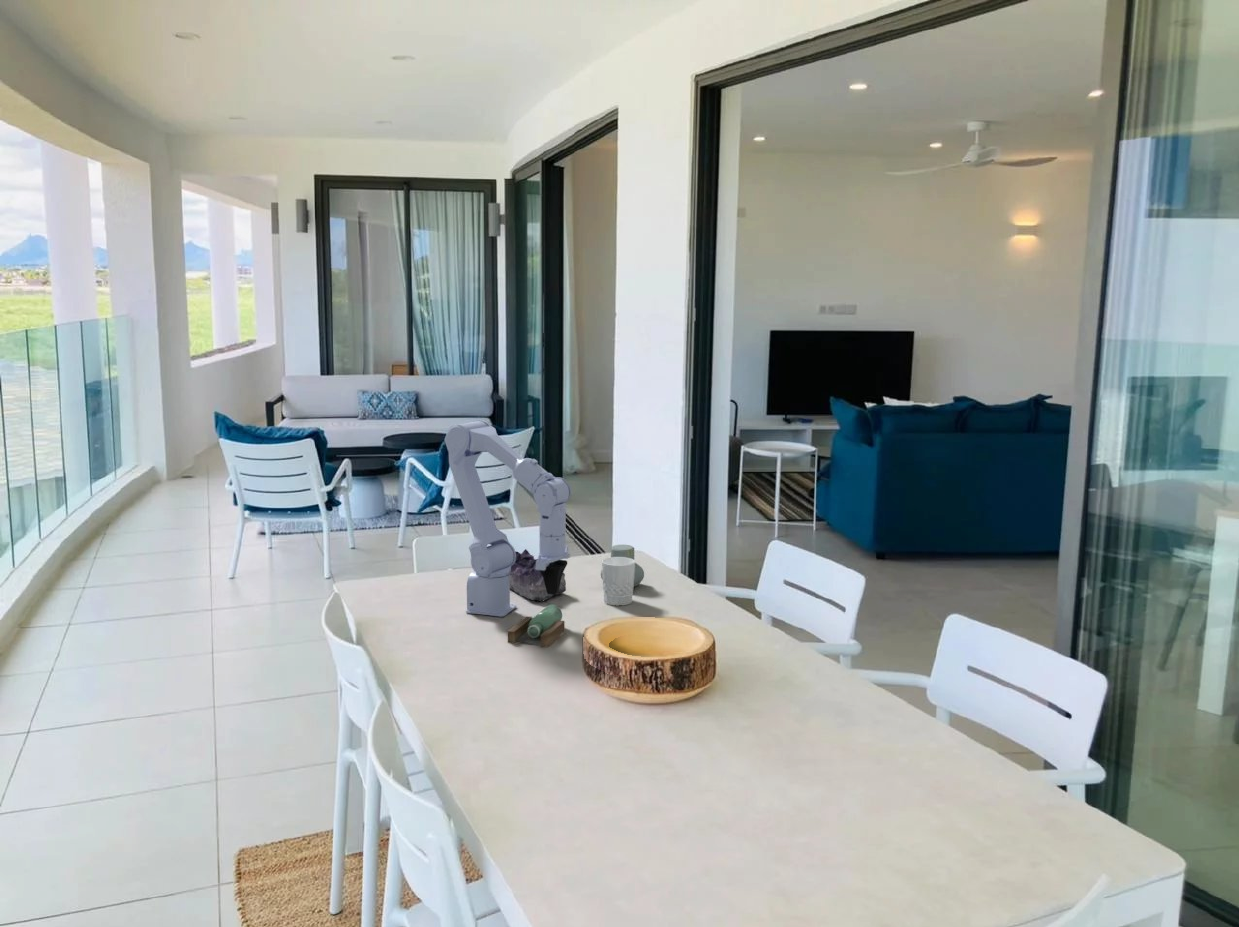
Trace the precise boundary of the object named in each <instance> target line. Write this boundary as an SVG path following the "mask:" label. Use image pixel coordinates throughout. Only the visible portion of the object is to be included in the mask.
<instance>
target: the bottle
mask: <svg viewBox="0 0 1239 927" xmlns="http://www.w3.org/2000/svg"><path fill="white" fill-rule="evenodd" d="M562 619H563V612H562V610H561V609H560V607H558V606H557V605H555V604H549V605H547V606H545V607H544V608H543V609H542V610H541V611H540V612H539V613H537V614H536V615H535V616H534V617H532V620H531V621H530V622H529V628H528V634H529V636H531V637H533V638H535V637H541V634H543V633H544V632H545V631H546V630H547V629H548V628H550V627H551V626H552V625H553V624H554V623H555V622H557V621H558V620H560V621H562Z"/></svg>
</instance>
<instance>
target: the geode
mask: <svg viewBox="0 0 1239 927" xmlns="http://www.w3.org/2000/svg"><path fill="white" fill-rule="evenodd" d="M515 552H516V560H515V563H514V564H513V565H512V566H511V571H510V572H509V574H510V591H514V592H515V593H516V594H518V595H519V596H521V597H524V598H526V599H528V600H532V601H538V602H544V601H545V600H548V599H550V598H552V597H554V596H556V595H559V594H562V593H564V592H566V590H567V587H566V584H567V582H566V574H565V572H563V574H562V578H561V582H560V587H559V591H558V593H557V594H556V595H553V594H547V591H546V587H545V583H544V579H543V577H542V574H541V572H540V570H536V561H537V560H538V558H537V559H535V557H534V556H535V555H532V554H531V553H530V552H529V551H528V549H527V548H526V549H524V550H523V551H522V552H521V553H520V552H518V551H516V550H515Z"/></svg>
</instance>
